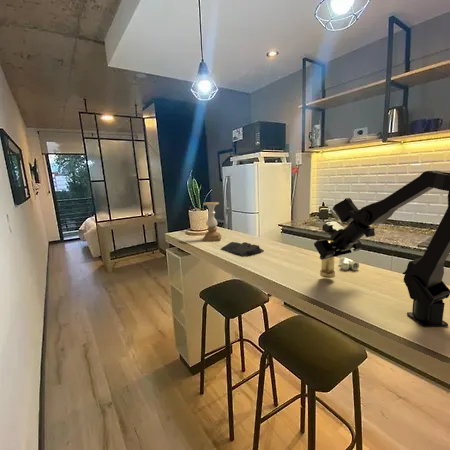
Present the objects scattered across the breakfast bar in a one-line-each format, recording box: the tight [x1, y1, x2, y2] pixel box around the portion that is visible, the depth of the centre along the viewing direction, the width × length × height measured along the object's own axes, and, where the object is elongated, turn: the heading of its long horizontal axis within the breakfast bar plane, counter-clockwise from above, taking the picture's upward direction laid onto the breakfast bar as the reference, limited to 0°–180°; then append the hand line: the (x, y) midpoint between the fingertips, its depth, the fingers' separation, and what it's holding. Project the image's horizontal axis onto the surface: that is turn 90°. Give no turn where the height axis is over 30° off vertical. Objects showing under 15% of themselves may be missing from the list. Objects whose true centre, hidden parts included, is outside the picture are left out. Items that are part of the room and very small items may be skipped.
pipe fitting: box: [338, 256, 360, 271], centre depth 112 cm, size 8×4×7 cm
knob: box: [319, 239, 336, 279], centre depth 98 cm, size 5×5×13 cm
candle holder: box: [202, 201, 222, 242], centre depth 170 cm, size 11×11×24 cm
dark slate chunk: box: [220, 241, 265, 258], centre depth 143 cm, size 15×22×5 cm
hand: (325, 257), depth 100 cm, fingers closed on knob, 4 cm apart
